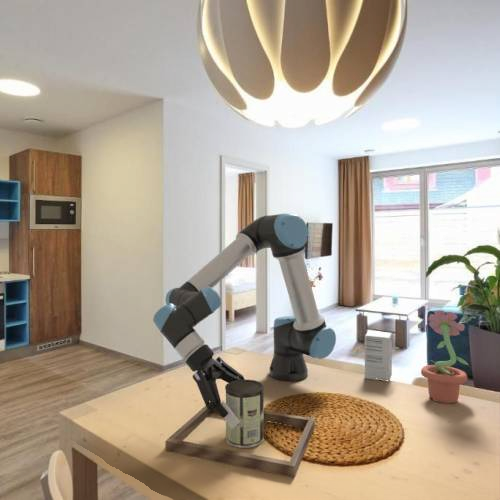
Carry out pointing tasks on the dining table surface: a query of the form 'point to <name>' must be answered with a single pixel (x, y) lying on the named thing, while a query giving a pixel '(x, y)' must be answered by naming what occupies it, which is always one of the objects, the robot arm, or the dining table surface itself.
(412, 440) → the dining table surface
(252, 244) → the robot arm
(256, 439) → the coffee can
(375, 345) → the supplement box
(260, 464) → the walnut frame
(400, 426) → the dining table surface
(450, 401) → the decorative flower
